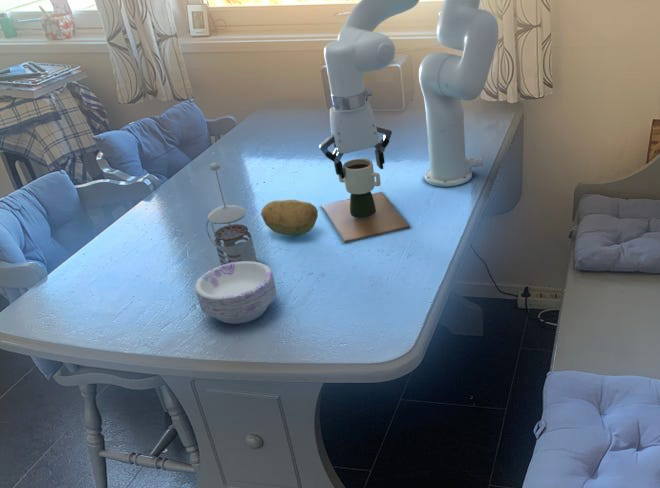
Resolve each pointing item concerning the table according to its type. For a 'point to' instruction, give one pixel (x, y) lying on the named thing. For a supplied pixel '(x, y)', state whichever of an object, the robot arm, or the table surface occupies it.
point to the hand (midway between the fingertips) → (361, 171)
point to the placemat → (365, 219)
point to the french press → (230, 232)
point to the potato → (289, 216)
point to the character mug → (360, 186)
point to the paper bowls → (236, 291)
